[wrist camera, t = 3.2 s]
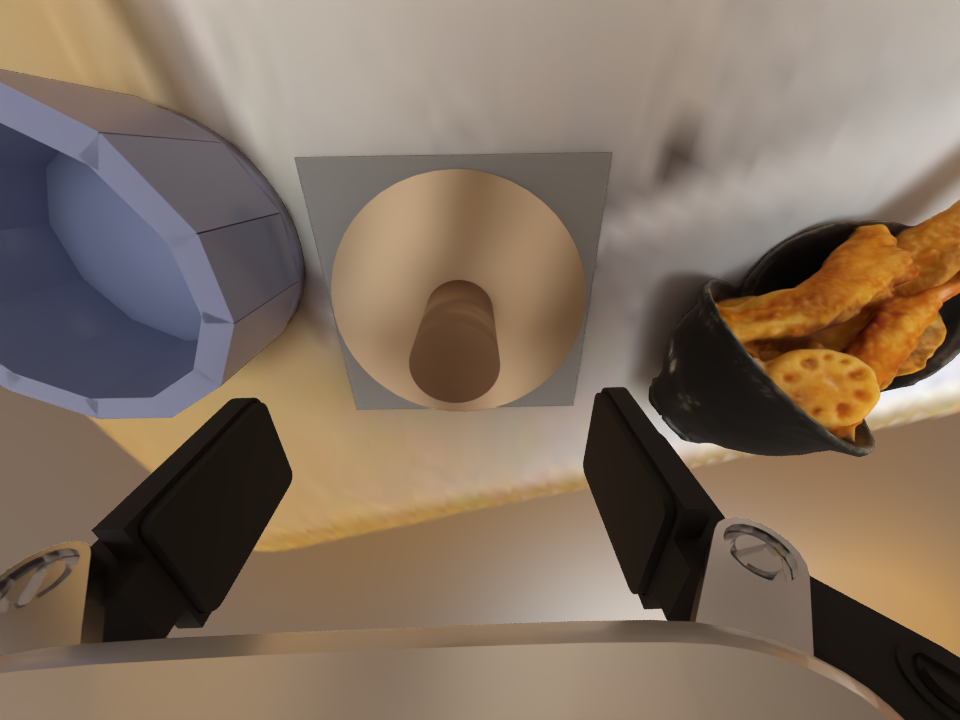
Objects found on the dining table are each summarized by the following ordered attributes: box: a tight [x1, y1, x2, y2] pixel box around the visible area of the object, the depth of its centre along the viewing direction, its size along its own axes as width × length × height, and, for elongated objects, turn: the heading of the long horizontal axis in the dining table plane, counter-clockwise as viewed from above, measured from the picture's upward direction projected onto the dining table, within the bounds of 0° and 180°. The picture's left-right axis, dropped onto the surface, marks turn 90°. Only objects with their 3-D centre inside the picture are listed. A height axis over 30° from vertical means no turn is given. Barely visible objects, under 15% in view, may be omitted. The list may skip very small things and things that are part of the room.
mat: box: [294, 152, 612, 410], centre depth 17 cm, size 13×13×1 cm
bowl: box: [0, 69, 305, 419], centre depth 14 cm, size 11×11×6 cm
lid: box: [331, 169, 586, 412], centre depth 15 cm, size 12×12×6 cm
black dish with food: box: [649, 200, 960, 457], centre depth 13 cm, size 9×11×18 cm
